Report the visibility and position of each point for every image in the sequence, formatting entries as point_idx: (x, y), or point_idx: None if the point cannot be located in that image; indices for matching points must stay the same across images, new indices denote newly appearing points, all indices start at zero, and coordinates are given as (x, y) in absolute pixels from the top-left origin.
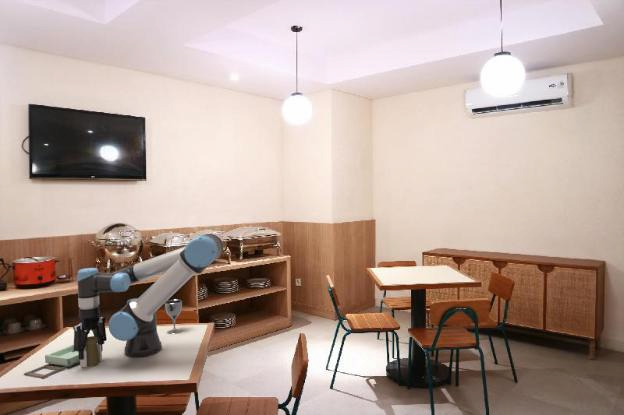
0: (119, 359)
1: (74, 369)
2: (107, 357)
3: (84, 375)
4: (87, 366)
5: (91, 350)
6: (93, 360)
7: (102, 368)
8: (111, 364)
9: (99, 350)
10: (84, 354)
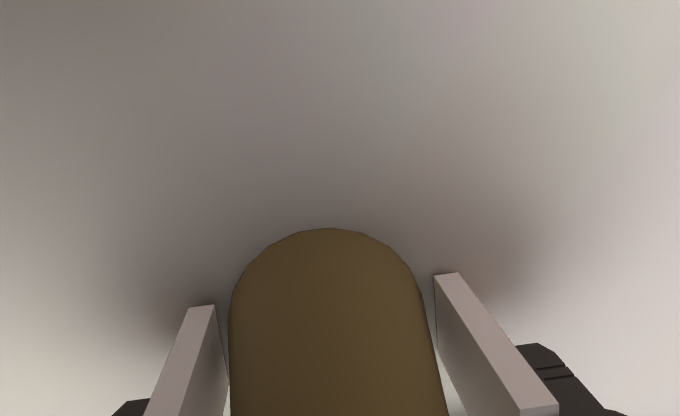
0: (24, 112)
1: None
2: (74, 342)
3: (638, 55)
4: (417, 286)
5: (408, 383)
6: (372, 269)
7: (378, 39)
8: (216, 49)
9: (188, 402)
10: (528, 376)
